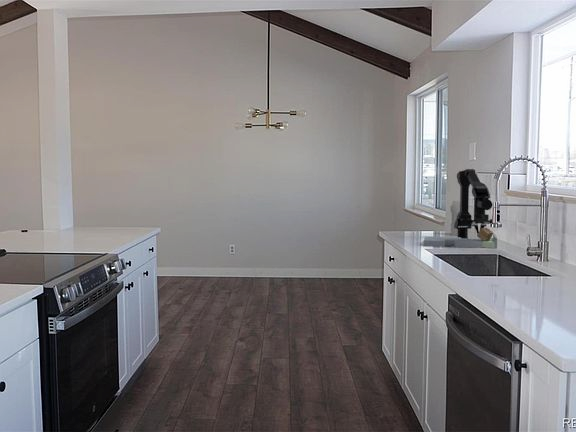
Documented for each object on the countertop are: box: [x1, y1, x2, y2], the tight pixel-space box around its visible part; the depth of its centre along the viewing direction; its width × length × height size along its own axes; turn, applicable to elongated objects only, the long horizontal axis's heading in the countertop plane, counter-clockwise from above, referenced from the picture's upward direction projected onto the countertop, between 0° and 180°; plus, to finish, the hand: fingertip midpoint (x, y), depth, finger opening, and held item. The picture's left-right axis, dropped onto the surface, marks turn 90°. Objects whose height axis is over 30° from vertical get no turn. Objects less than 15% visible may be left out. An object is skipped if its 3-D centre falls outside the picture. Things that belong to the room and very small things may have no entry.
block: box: [476, 227, 494, 241], centre depth 288 cm, size 5×5×5 cm
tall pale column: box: [450, 199, 470, 237], centre depth 335 cm, size 11×4×22 cm, turn 76°
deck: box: [423, 233, 498, 249], centre depth 296 cm, size 18×37×5 cm, turn 72°
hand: (479, 237), depth 292 cm, fingers closed
